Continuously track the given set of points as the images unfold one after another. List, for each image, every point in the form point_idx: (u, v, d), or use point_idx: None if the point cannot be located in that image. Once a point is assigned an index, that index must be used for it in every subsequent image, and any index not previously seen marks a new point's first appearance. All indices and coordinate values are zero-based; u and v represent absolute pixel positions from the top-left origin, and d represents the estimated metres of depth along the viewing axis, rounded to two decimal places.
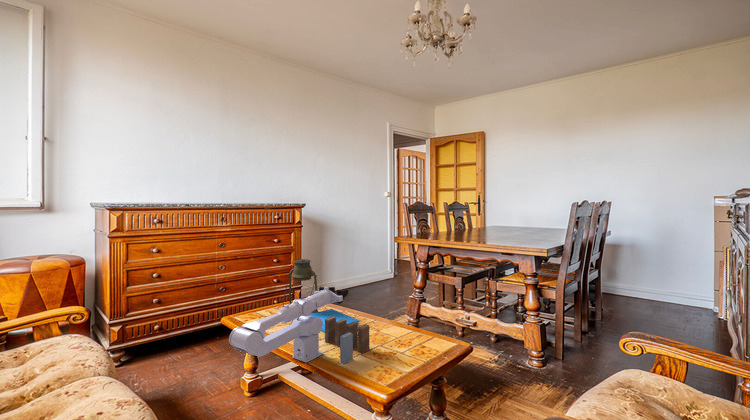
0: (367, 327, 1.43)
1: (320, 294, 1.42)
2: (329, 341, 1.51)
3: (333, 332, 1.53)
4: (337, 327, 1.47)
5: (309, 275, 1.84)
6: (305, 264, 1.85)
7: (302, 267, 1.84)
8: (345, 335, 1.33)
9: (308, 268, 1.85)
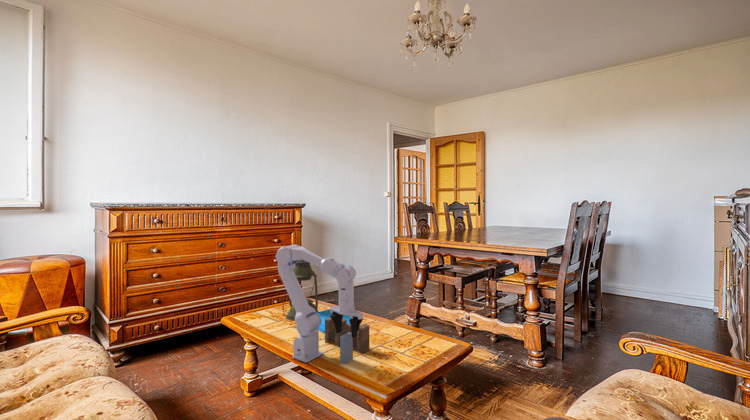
0: (367, 327, 1.43)
1: None
2: (329, 341, 1.51)
3: (333, 332, 1.53)
4: None
5: (309, 275, 1.84)
6: (305, 264, 1.85)
7: (302, 267, 1.84)
8: (345, 335, 1.33)
9: (308, 268, 1.85)
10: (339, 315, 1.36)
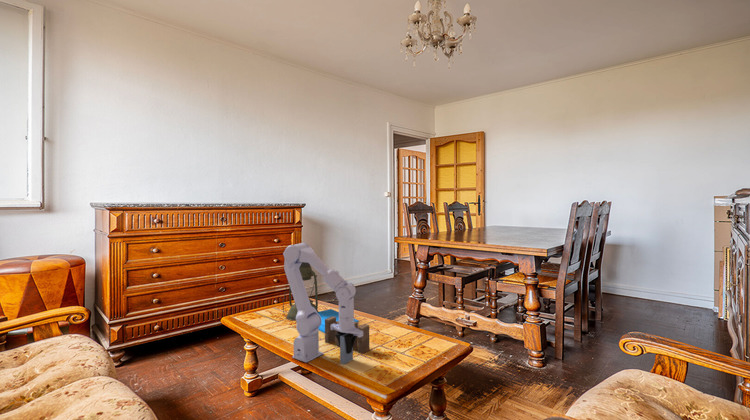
0: (367, 327, 1.43)
1: None
2: (329, 341, 1.51)
3: (333, 332, 1.53)
4: None
5: (309, 275, 1.84)
6: (305, 264, 1.85)
7: (302, 267, 1.84)
8: (345, 335, 1.33)
9: (308, 268, 1.85)
10: None
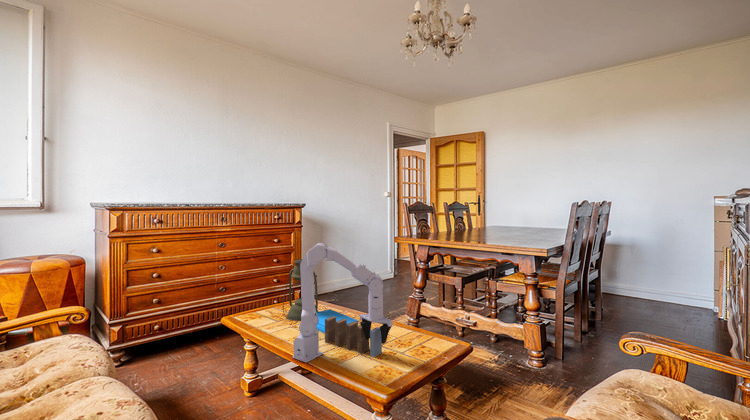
0: None
1: None
2: (329, 341, 1.51)
3: (333, 332, 1.53)
4: (337, 327, 1.47)
5: None
6: None
7: None
8: (375, 329, 1.38)
9: None
10: (368, 322, 1.41)
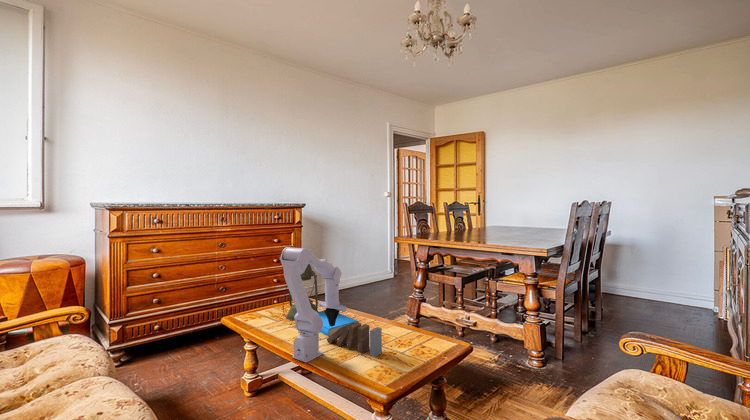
0: (367, 327, 1.43)
1: None
2: (330, 342, 1.51)
3: (338, 337, 1.51)
4: (345, 331, 1.44)
5: (309, 275, 1.84)
6: None
7: None
8: (374, 329, 1.38)
9: (308, 268, 1.85)
10: None
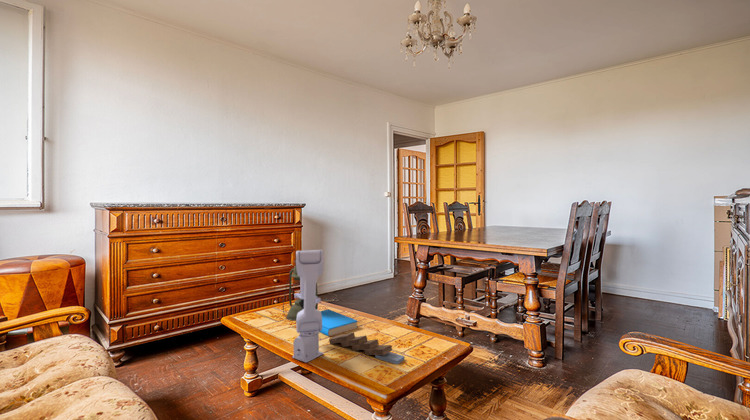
0: None
1: None
2: None
3: None
4: (355, 342, 1.42)
5: None
6: None
7: None
8: (400, 362, 1.32)
9: None
10: None
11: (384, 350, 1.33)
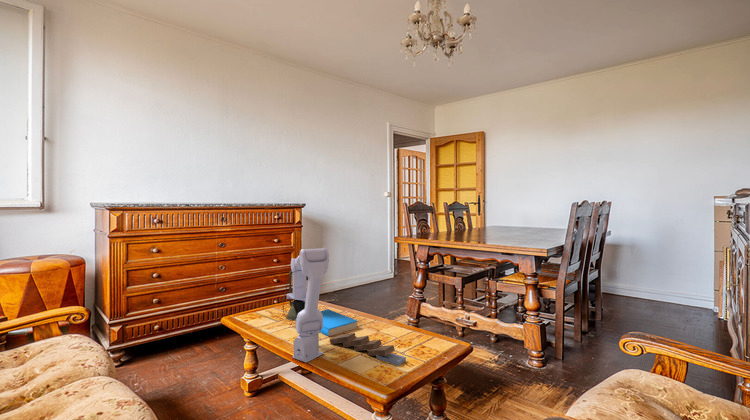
0: None
1: None
2: None
3: None
4: (358, 343, 1.42)
5: None
6: None
7: None
8: (401, 363, 1.31)
9: None
10: None
11: (386, 350, 1.32)
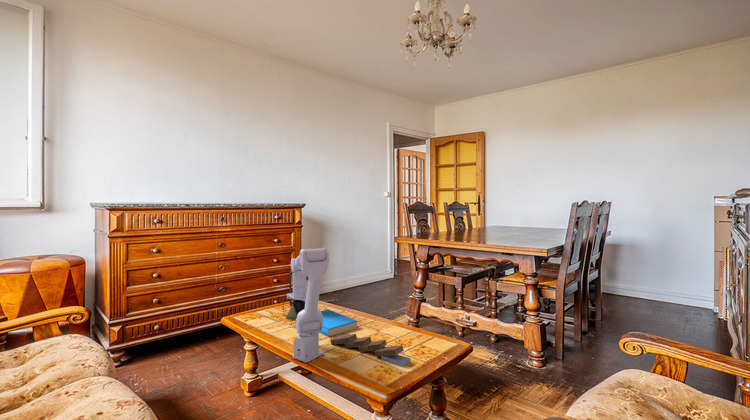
0: None
1: None
2: None
3: None
4: (360, 344, 1.42)
5: None
6: None
7: None
8: (406, 364, 1.30)
9: None
10: None
11: (396, 350, 1.31)
